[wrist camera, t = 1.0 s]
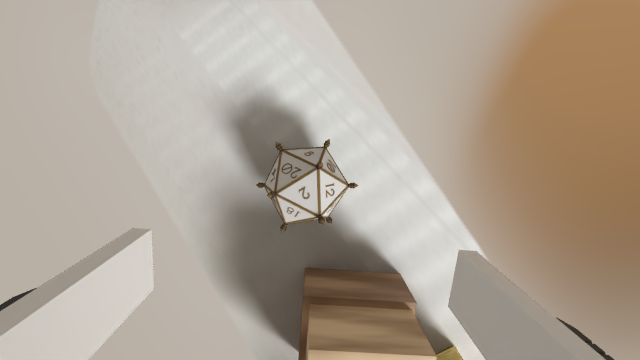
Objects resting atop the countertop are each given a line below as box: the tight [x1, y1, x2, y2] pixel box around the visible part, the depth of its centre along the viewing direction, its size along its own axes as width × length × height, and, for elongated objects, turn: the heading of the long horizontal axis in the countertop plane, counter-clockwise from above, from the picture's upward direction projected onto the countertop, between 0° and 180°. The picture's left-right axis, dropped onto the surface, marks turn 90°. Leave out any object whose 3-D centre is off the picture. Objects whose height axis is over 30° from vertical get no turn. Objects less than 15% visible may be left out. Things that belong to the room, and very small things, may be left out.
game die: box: [256, 139, 358, 232], centre depth 29 cm, size 9×8×10 cm
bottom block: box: [298, 268, 416, 360], centre depth 33 cm, size 11×11×6 cm
